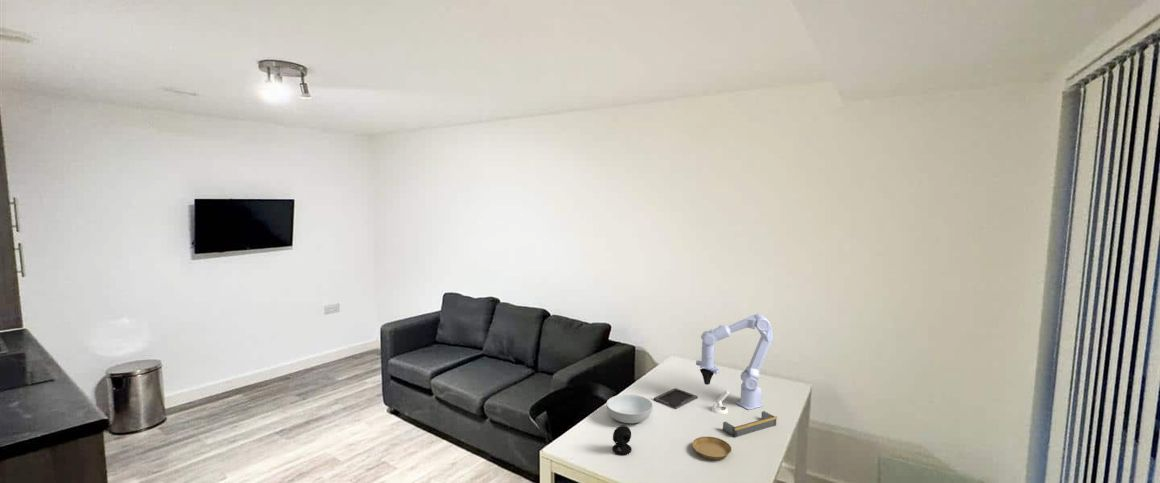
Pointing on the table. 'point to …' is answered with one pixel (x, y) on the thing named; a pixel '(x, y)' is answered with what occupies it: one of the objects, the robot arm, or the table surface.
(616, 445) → the webcam
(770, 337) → the robot arm
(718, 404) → the hook
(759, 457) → the table surface
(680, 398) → the picture frame
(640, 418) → the serving bowl
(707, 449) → the plant saucer
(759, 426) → the tray
